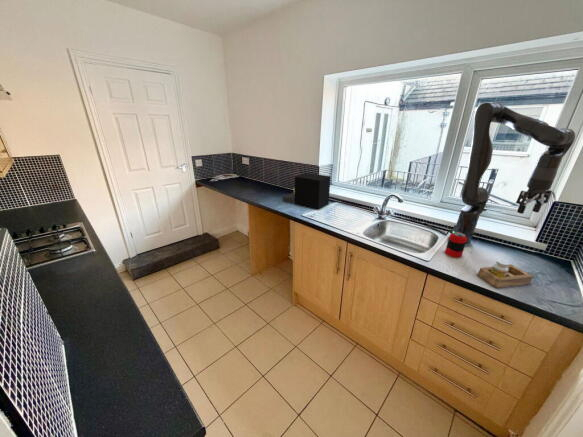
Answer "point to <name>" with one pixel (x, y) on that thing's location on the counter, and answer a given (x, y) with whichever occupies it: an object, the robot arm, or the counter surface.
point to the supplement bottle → (500, 268)
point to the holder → (511, 279)
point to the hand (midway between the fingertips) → (527, 212)
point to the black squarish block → (310, 191)
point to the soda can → (456, 244)
